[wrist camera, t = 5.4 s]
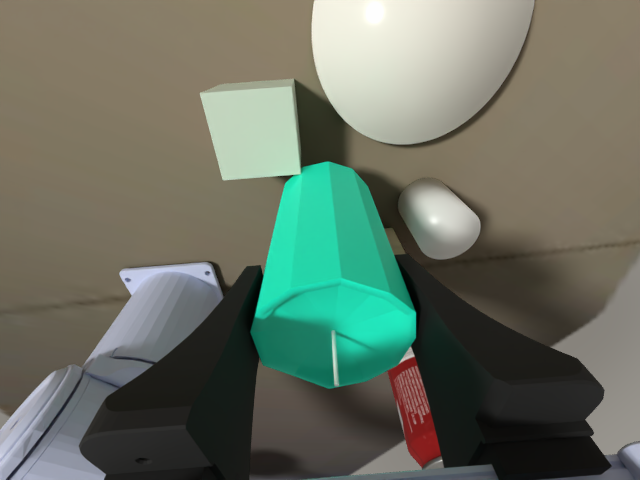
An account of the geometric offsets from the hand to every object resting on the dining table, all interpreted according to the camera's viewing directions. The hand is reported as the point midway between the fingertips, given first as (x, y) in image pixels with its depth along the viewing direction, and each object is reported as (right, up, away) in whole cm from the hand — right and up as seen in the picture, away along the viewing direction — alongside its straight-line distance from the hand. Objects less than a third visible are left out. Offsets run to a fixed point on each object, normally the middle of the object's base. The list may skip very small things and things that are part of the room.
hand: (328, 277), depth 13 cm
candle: (0, +4, +6) cm, 7 cm away
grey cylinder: (+8, +5, +10) cm, 13 cm away
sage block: (-4, +10, +6) cm, 12 cm away
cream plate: (+5, +14, +4) cm, 15 cm away
